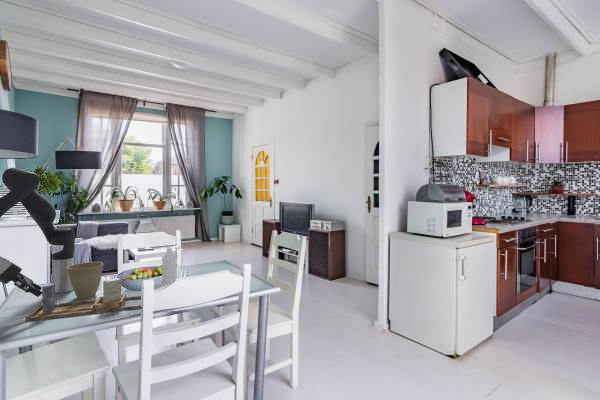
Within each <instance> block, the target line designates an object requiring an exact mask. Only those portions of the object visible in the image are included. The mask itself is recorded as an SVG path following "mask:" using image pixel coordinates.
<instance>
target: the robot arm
mask: <svg viewBox="0 0 600 400" xmlns="http://www.w3.org/2000/svg"><path fill="white" fill-rule="evenodd" d="M1 180H2V183H3V185H4V186H5V187H6V188H7V189H8V190H9V191H8V192H7V193H6V194H5V195H3V196H2V197H0V218H1V217H2V216H3V215H5V214H6V213H7V212H8V211H9V210H11V209H12V208H13V207H15V206H16V205H17V204H19V203H20V204H21V205H22V206H23V207H24V209H25V210H26V211H27V213H28V214H29V216H30V217H31V218H32V220H34V222H35V223H36V224H37V226H38V227H39V228H40V231H41V232H42V233H43V235H44V237H45V239H46V241H47V242H48V244H50V245H51V246H55V247H57V246H59V247H60V246H63V247H62V249H61V250H60V251H56V252H54V253H52V255H51V266H52V267H51V272H52V273H50V284H55V294H60V293H62V294H63V293H67V292H70V291H74V290H73V287H72V285H71V282H70V279H69V275H68V270H67V267H68V266H71V265H74V264H75V263H74V262H75V256H74V255H75V250H76V249H75V248H76V247H75V246H76V245H75V243H76V232H75V230H74V228H71V227H56V226H55V225H54V221H55V219H56V217H57V212H56V210H55V208H54V206H53V205H52V203H51V202H50V201H49V200H48V199H47V198H46V197H44V196H43V195H41V194H40V193H39V192H38V191H37V190H36V189H37V188H38V187H39V185H40V183H41V182H40V181H41V180H40V176H39V175H38V174H37V173H35V172H32V171H29V170H26V169H24V168H23V169H22V168H17V167H10V168H7V169H5V170H4V171H3V172H2V176H1ZM22 270H23V269H22V268H21V267H20V266H19V265H16V264H15V263H13V262H12V261H10V260H9V259H7V258H4V257H3V256H1V255H0V283H2V284H3V285H7V284H9V283H10V282H13V286H16V287H17V288H18V289H20V290H22V291H24V292H25V293H30V294H31V295H33V296H35V297H37V298H39V297H41V296H42V286H40V285H38V284H37V283H36V282H34V280H33V279H31V278H29V277H27V276H26V275H24V274H23V273H21V272H22Z"/></svg>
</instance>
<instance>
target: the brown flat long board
mask: <svg viewBox="0 0 600 400" xmlns="http://www.w3.org/2000/svg"><path fill="white" fill-rule="evenodd" d="M141 295H142V294H141ZM141 295H131V296H126V301H130V300H138V299H139V300H140V299H142V298H141ZM96 300H97V299H95V300H94V299H93V300H83V301H75V302H65V303H56V307H64V306H74V305H83V304H93V303H95V302H96ZM141 305H142V304H134V305H126V306H125V305H123V307H115V308H106V309H97V310H87V311H78V312H69V313H60V314H51V315H42V316H38V313H39V312H40V311H41V310H42V304H41V305H39V306H38V307H37V308H35V309H34V310H33V311H32V312H31V313H30V314H28V315H27V316H25V322H33V321H42V320H50V319H58V318H67V317H75V316H77V317H78V316H85V315H93V314H100V313H101V314H103V313H109V312H110V313H111V312H119V311H128V310H135V309H142V308H141Z"/></svg>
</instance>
